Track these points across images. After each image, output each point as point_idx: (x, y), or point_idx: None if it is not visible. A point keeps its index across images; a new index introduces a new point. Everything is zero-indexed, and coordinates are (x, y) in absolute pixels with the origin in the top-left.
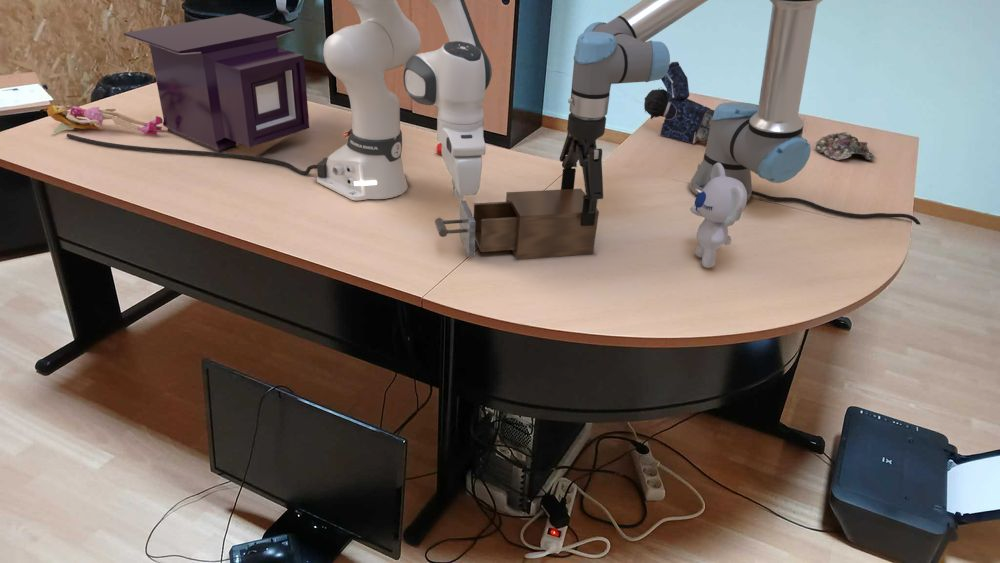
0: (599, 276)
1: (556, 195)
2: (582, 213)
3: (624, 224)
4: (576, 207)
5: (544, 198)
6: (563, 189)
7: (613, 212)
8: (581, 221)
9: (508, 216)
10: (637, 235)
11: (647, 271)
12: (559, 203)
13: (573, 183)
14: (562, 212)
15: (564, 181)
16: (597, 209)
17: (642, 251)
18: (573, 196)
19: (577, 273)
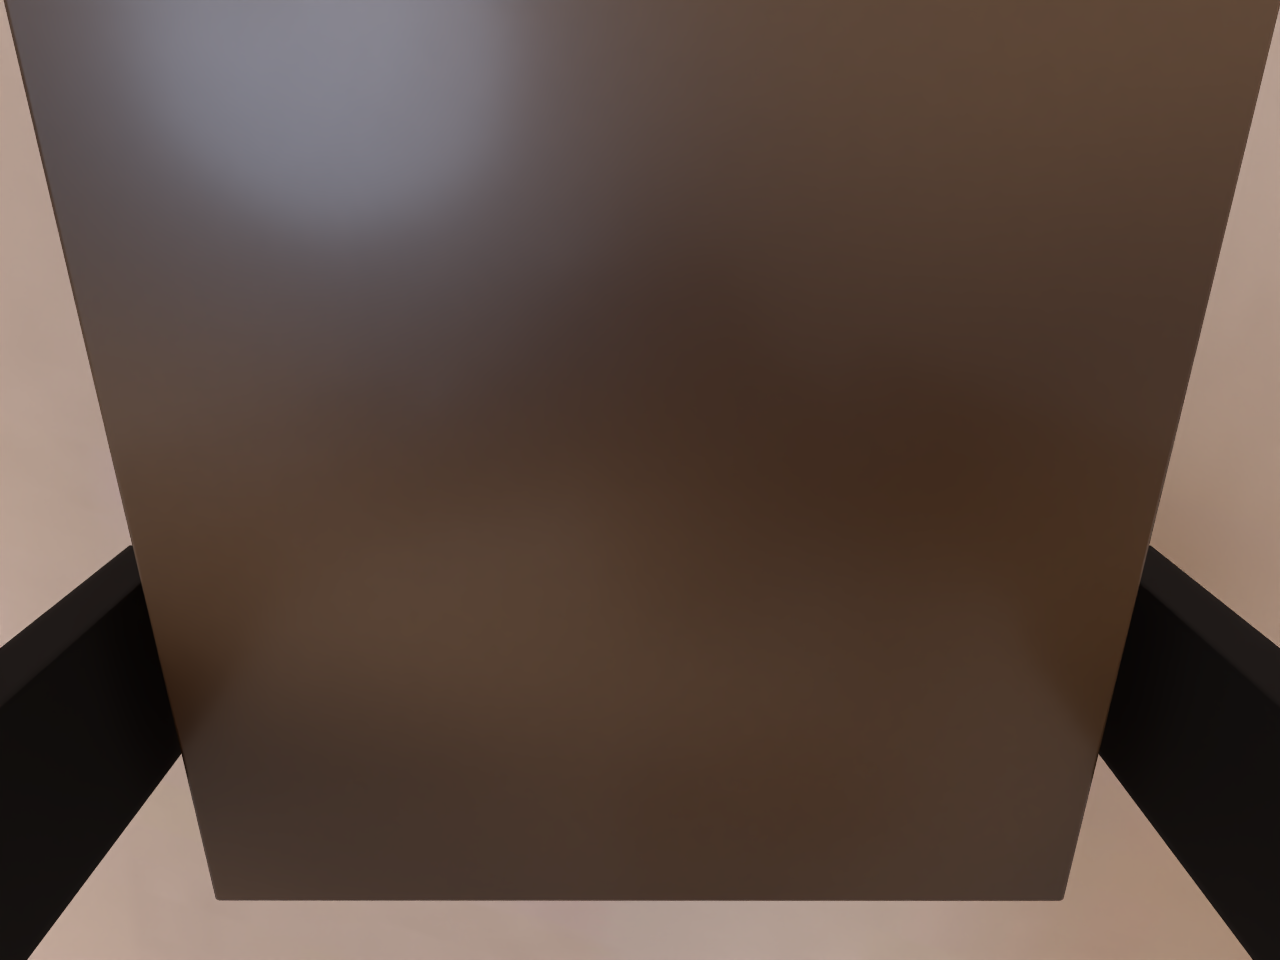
0: (16, 483)
1: (907, 430)
2: (34, 650)
3: (863, 929)
4: (354, 630)
5: (826, 118)
6: (1119, 634)
7: (1077, 922)
8: (126, 574)
9: None
10: (675, 952)
11: (133, 842)
12: (536, 376)
13: (1193, 861)
14: (120, 309)
15: (1273, 743)
16: (282, 899)
17: (431, 905)
18: (798, 710)
19: (49, 305)
